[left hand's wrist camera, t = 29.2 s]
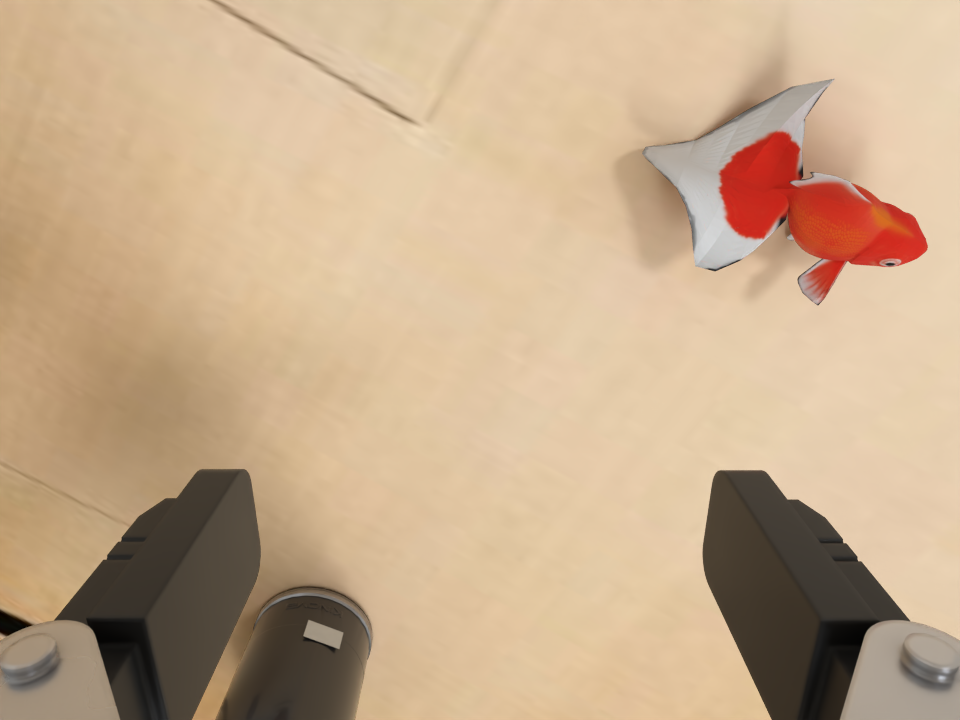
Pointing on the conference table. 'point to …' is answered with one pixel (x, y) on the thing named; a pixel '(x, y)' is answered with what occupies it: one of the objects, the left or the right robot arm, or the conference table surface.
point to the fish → (781, 196)
